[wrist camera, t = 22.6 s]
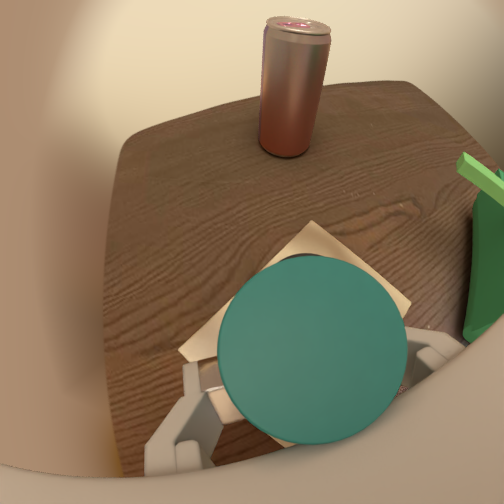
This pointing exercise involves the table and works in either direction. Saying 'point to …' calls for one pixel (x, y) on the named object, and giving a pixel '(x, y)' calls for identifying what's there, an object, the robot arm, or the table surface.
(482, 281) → the toy tank
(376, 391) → the dot marker
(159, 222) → the table surface
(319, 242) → the board
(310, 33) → the beverage can
